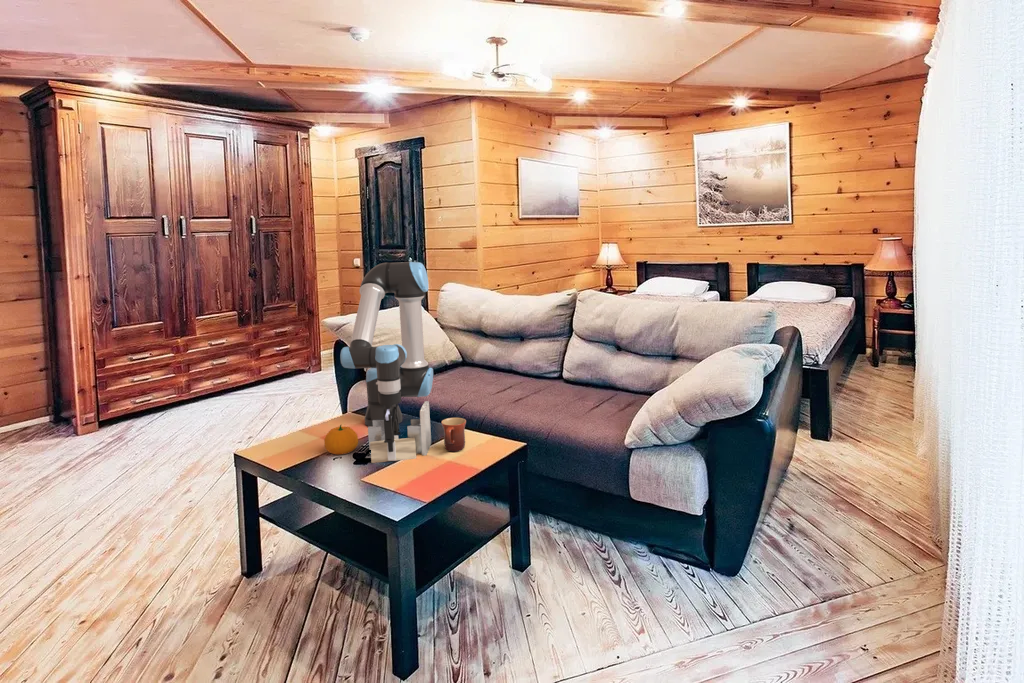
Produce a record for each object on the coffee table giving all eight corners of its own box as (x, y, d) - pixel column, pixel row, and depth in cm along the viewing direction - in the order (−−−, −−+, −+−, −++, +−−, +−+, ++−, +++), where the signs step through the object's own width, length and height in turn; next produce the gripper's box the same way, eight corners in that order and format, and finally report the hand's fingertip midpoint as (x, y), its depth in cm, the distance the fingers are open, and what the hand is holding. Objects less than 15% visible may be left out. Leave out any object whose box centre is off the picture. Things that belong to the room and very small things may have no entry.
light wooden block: (371, 458, 212) (370, 441, 210) (415, 453, 215) (414, 437, 214) (371, 463, 207) (370, 446, 206) (416, 458, 210) (415, 441, 209)
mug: (446, 444, 223) (445, 417, 222) (470, 445, 222) (468, 418, 220) (436, 456, 212) (435, 427, 210) (460, 457, 210) (459, 428, 208)
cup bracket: (413, 443, 225) (411, 401, 222) (431, 443, 225) (429, 401, 222) (407, 455, 213) (405, 411, 210) (426, 455, 213) (424, 410, 210)
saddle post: (374, 446, 223) (372, 420, 221) (387, 446, 223) (385, 419, 221) (369, 454, 215) (367, 427, 213) (382, 454, 215) (380, 426, 213)
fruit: (355, 443, 227) (353, 417, 225) (362, 453, 216) (360, 426, 215) (322, 449, 222) (320, 422, 220) (328, 459, 211) (325, 432, 210)
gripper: (383, 384, 216) (388, 447, 220) (372, 399, 198) (377, 467, 202) (405, 384, 215) (409, 447, 220) (395, 398, 198) (399, 466, 202)
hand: (393, 456), depth 211 cm, fingers closed on light wooden block, 5 cm apart
